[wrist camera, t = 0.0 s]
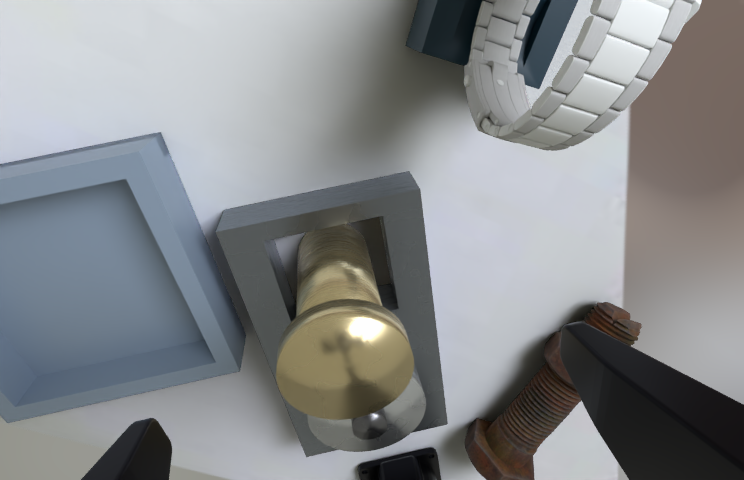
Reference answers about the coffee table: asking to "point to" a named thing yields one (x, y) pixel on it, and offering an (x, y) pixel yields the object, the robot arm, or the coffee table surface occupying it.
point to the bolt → (538, 406)
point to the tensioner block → (402, 297)
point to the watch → (549, 60)
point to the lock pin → (341, 333)
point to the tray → (105, 281)
